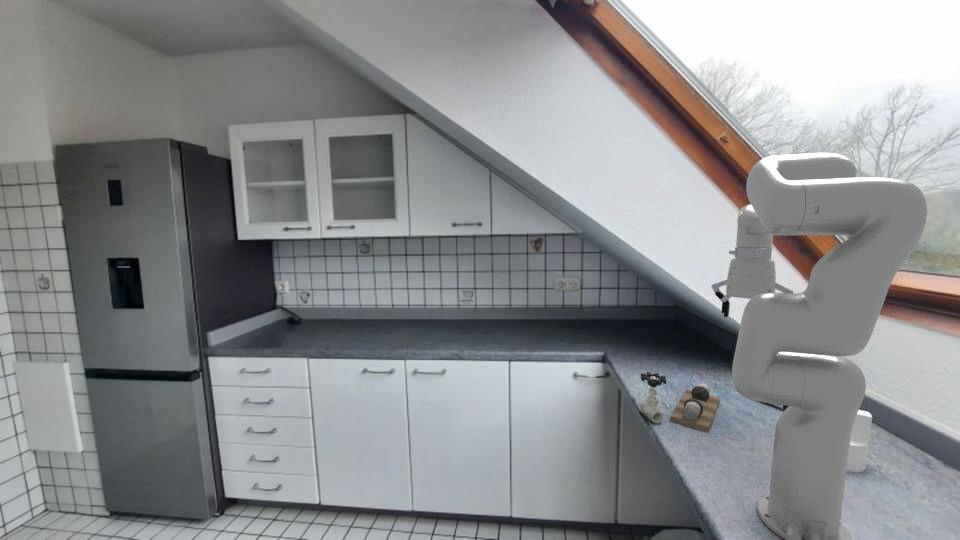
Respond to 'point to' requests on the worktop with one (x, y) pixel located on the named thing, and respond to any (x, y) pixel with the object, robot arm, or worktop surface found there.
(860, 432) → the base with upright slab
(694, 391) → the pipe board
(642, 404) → the valve
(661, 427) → the worktop surface
